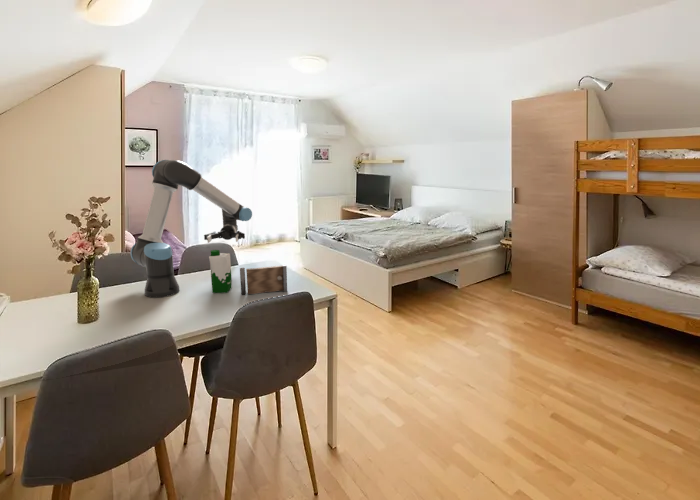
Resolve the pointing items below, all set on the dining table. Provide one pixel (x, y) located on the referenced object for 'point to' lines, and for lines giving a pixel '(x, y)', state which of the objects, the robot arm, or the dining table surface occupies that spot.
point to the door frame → (243, 285)
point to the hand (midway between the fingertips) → (222, 239)
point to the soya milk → (220, 271)
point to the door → (264, 279)
